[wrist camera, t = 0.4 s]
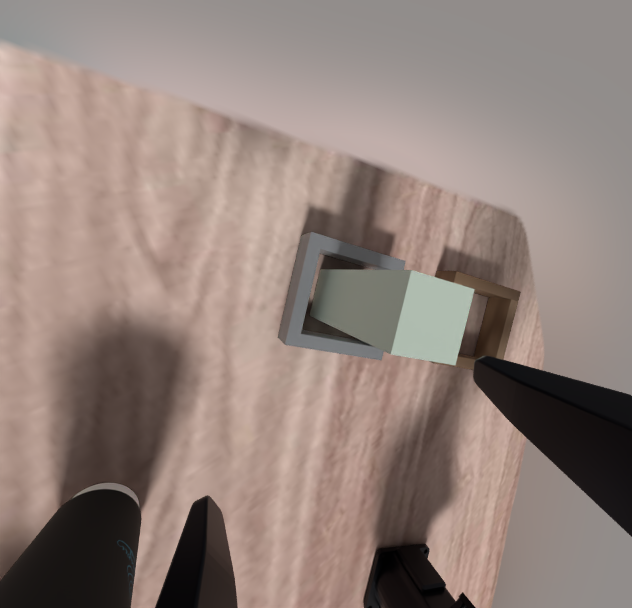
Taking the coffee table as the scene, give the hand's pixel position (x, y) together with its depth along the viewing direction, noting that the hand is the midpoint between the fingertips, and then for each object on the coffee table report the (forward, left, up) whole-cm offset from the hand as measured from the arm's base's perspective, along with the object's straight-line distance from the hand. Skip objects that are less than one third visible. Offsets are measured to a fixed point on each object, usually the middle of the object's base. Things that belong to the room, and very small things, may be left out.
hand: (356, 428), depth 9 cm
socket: (+4, -5, -16) cm, 17 cm away
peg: (+4, -5, -16) cm, 17 cm away
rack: (+4, -19, -16) cm, 25 cm away
